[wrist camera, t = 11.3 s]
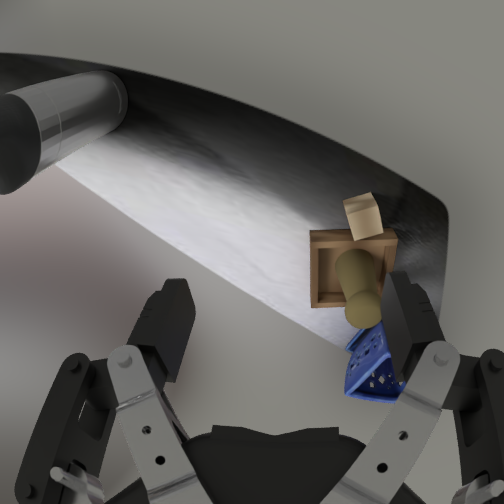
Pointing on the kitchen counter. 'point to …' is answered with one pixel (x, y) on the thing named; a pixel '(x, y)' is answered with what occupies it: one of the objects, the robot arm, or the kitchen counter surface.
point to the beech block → (363, 216)
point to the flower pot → (371, 367)
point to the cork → (359, 288)
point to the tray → (331, 247)
